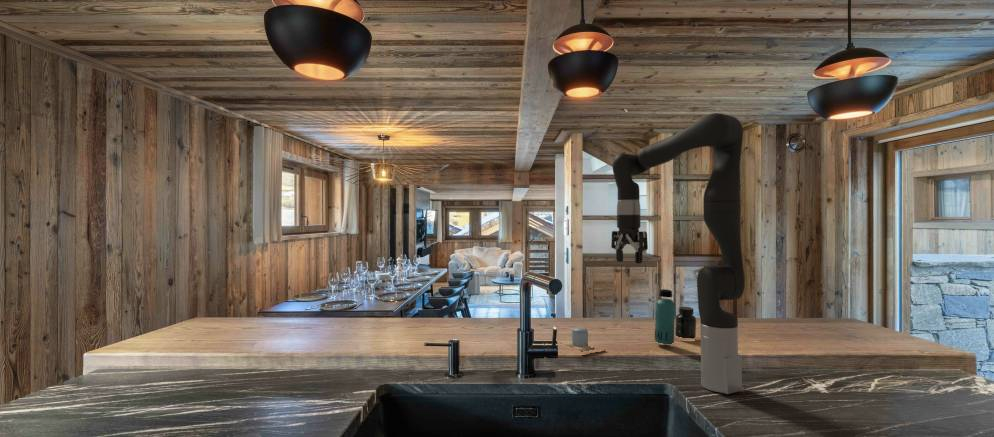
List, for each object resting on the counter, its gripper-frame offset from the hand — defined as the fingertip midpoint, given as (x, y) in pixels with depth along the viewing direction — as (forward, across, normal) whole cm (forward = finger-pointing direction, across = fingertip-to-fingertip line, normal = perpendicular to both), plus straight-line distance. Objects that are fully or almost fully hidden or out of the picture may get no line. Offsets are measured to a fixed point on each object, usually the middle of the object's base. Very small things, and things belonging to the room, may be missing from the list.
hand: (628, 262), depth 147 cm
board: (+30, +11, +11) cm, 34 cm away
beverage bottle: (+30, 0, -16) cm, 34 cm away
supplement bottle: (+30, +2, -29) cm, 42 cm away
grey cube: (+29, +12, +11) cm, 33 cm away
